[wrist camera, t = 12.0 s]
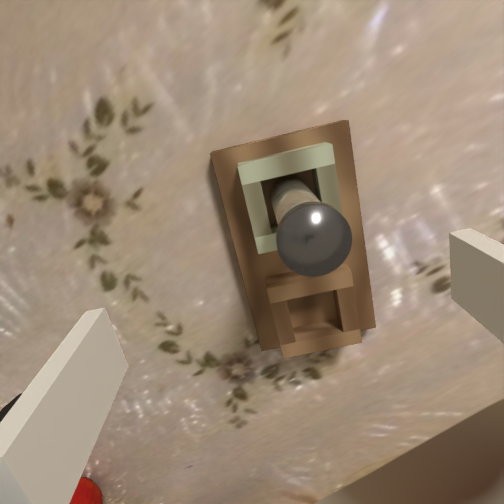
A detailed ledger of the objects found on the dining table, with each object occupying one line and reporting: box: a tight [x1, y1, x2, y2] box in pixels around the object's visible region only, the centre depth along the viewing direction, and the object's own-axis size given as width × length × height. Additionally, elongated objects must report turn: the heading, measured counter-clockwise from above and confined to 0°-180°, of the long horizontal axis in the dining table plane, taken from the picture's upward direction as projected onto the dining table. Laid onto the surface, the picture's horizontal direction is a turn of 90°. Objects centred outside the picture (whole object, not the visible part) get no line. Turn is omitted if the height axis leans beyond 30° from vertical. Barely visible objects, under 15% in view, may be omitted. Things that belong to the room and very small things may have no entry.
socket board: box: [210, 120, 376, 359], centre depth 41 cm, size 14×24×5 cm, turn 13°
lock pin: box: [270, 176, 352, 277], centre depth 32 cm, size 5×5×15 cm
